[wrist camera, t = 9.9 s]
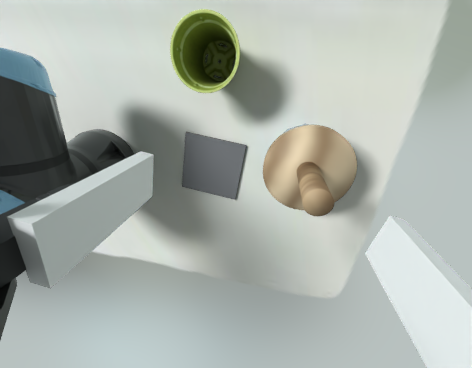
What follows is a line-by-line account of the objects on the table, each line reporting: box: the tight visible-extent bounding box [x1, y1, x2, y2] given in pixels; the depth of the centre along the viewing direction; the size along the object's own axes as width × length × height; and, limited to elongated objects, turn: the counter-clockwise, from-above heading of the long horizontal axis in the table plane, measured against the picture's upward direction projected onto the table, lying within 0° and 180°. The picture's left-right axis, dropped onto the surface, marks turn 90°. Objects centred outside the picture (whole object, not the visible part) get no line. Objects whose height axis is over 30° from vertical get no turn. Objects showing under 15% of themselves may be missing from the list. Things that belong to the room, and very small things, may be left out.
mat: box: [182, 132, 246, 199], centre depth 43 cm, size 12×12×1 cm
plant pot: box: [170, 9, 240, 93], centre depth 31 cm, size 9×9×9 cm
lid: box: [263, 125, 357, 216], centre depth 29 cm, size 14×14×12 cm
